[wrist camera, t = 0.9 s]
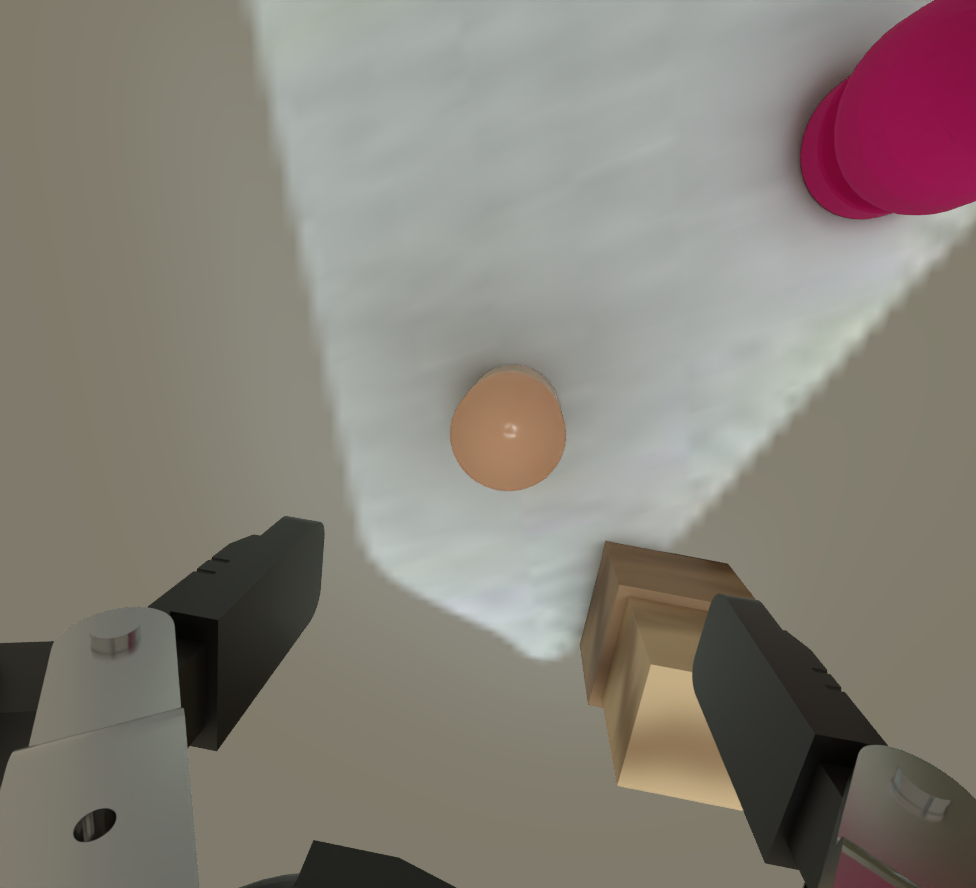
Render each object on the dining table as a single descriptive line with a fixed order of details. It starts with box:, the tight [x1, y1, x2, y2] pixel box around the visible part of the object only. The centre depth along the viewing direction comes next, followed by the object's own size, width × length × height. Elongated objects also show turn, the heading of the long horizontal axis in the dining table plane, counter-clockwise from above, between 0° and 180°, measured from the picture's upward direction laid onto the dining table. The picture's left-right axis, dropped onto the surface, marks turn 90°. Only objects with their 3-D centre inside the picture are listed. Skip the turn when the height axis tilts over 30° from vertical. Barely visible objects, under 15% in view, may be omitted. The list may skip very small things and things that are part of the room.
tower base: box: [580, 541, 755, 708], centre depth 28 cm, size 7×7×5 cm
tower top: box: [602, 596, 743, 811], centre depth 23 cm, size 6×6×5 cm
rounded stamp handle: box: [450, 364, 566, 491], centre depth 25 cm, size 5×5×6 cm
